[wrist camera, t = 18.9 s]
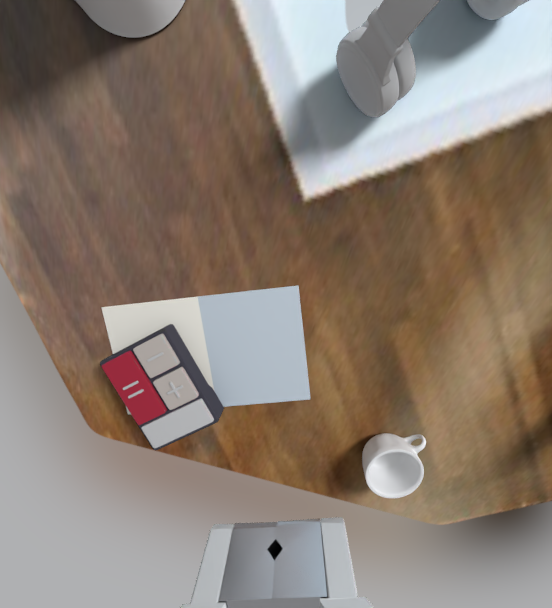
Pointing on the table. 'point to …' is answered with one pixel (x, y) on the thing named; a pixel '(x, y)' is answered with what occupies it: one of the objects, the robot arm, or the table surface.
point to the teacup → (392, 465)
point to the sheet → (229, 340)
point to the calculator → (163, 387)
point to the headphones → (393, 51)
